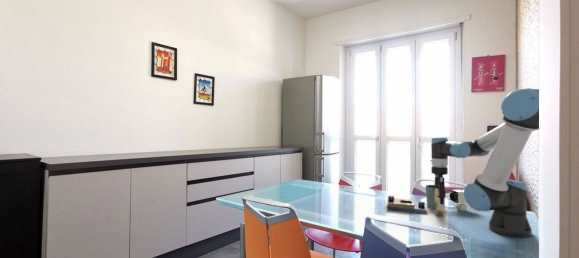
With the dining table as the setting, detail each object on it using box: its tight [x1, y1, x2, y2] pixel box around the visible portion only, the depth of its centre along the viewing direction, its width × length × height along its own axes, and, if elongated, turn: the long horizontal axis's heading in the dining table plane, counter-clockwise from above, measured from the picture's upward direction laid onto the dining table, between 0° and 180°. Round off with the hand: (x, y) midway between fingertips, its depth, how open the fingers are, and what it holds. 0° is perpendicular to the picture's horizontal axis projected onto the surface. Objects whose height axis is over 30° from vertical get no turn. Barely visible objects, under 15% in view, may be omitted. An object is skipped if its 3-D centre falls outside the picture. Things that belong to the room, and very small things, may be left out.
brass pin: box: [434, 188, 445, 218], centre depth 147 cm, size 4×4×14 cm
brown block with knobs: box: [386, 195, 428, 215], centre depth 160 cm, size 12×20×6 cm, turn 70°
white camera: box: [449, 188, 468, 212], centre depth 157 cm, size 6×12×12 cm, turn 94°
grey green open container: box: [425, 184, 435, 210], centre depth 163 cm, size 10×10×12 cm
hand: (439, 206), depth 147 cm, fingers open, 13 cm apart
